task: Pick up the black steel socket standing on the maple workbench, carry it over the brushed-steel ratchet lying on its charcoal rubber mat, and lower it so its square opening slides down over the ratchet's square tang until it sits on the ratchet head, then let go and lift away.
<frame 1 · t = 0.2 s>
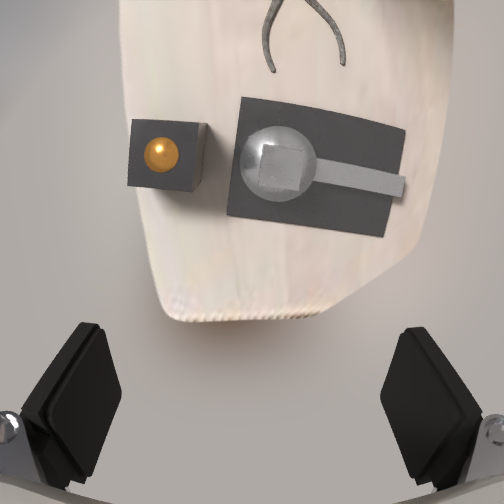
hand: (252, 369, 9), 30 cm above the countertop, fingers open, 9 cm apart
pliers: (282, 3, 30), on the countertop
ratchet: (277, 161, 37), on the countertop
socket: (174, 150, 36), on the countertop
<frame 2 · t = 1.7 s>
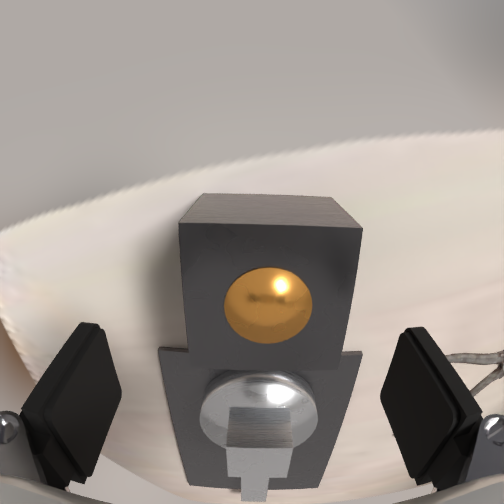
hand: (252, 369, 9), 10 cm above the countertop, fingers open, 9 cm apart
pliers: (479, 360, 23), on the countertop
ratchet: (258, 401, 23), on the countertop
socket: (265, 255, 19), on the countertop
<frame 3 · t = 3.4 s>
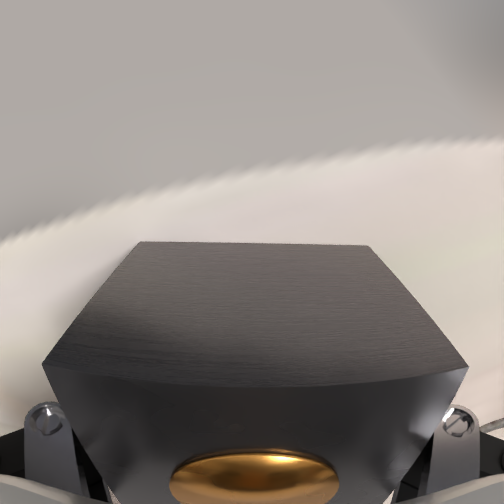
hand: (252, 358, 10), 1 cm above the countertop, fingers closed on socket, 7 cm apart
socket: (252, 340, 11), on the countertop, touching gripper
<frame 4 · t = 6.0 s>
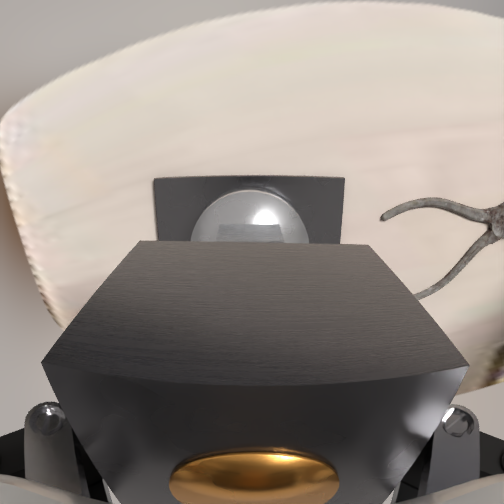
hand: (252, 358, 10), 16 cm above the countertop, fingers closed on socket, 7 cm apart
pliers: (466, 218, 25), on the countertop
ratchet: (249, 240, 25), on the countertop
socket: (252, 339, 11), point 15 cm above the countertop, touching gripper
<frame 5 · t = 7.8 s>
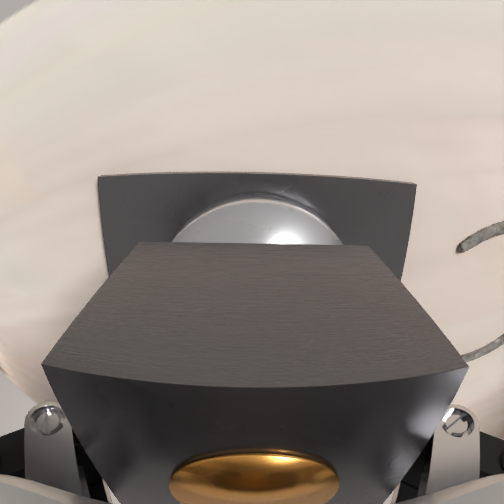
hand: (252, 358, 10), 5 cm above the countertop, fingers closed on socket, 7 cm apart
ratchet: (255, 282, 15), on the countertop
socket: (252, 340, 11), point 4 cm above the countertop, touching gripper
when the fingers open (4 cm above the countertop, at t = 9.0 s): socket stays where it is, resting on ratchet.
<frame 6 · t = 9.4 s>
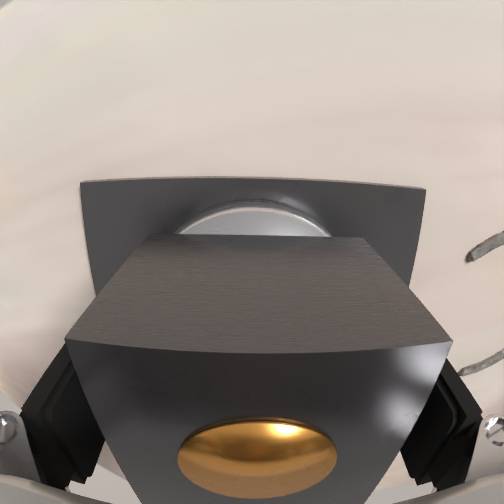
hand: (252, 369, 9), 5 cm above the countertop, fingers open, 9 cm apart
ratchet: (251, 295, 14), on the countertop
socket: (254, 327, 12), point 2 cm above the countertop, touching ratchet
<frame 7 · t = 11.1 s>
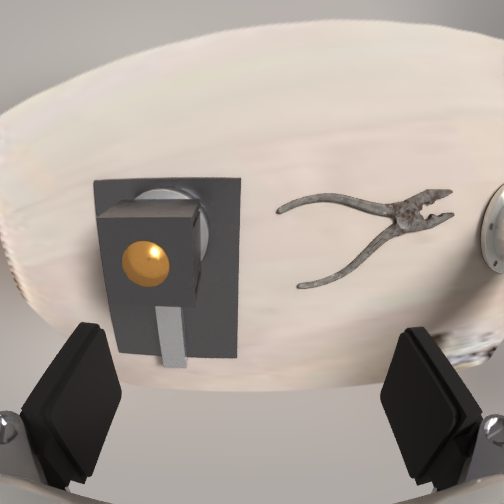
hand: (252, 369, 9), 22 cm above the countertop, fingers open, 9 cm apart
pliers: (369, 212, 31), on the countertop
ratchet: (165, 229, 30), on the countertop
socket: (161, 237, 28), point 2 cm above the countertop, touching ratchet
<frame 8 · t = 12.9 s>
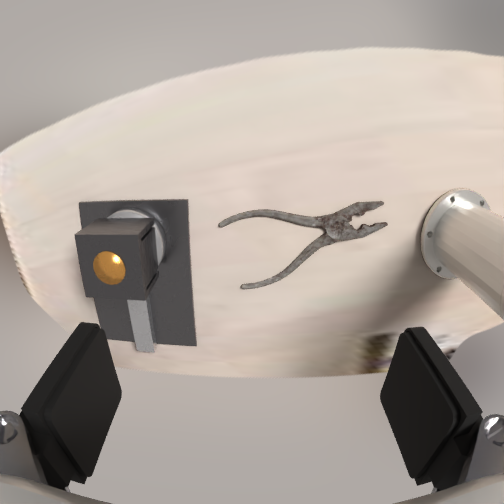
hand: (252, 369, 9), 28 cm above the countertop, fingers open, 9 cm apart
pliers: (301, 224, 38), on the countertop
ratchet: (134, 240, 38), on the countertop
socket: (128, 247, 36), point 2 cm above the countertop, touching ratchet
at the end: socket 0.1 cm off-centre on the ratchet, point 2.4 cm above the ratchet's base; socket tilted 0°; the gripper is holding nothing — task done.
